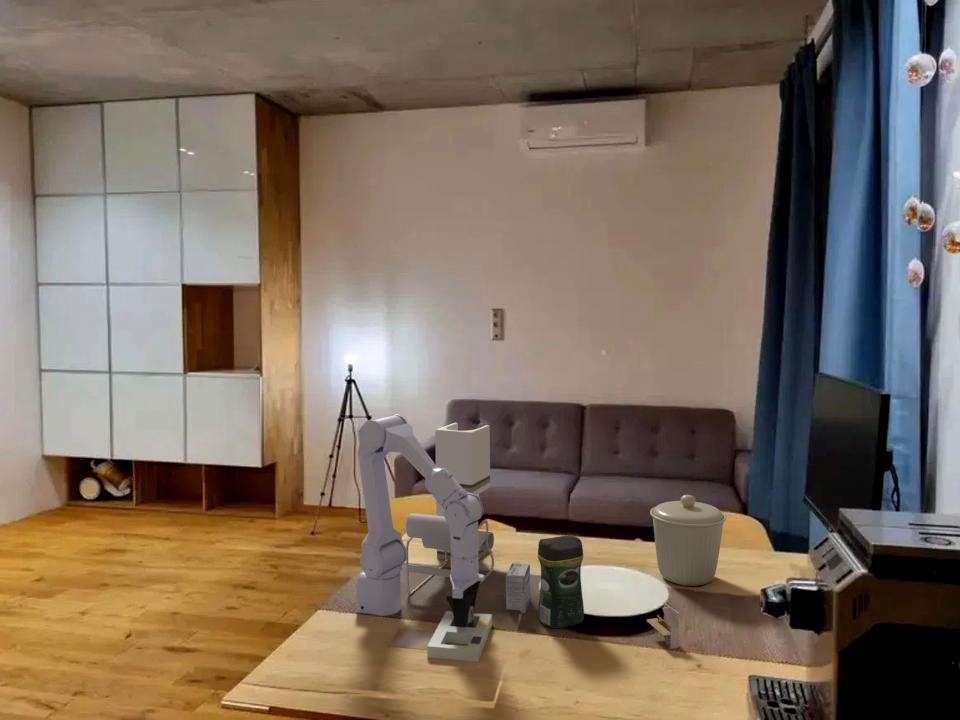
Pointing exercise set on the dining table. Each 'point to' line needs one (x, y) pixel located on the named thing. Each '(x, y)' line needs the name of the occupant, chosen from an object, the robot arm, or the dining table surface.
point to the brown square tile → (411, 639)
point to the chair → (439, 542)
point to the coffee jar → (560, 581)
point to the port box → (460, 638)
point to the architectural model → (668, 626)
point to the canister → (687, 540)
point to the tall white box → (464, 462)
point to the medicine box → (518, 587)
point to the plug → (469, 618)
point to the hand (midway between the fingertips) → (465, 618)
